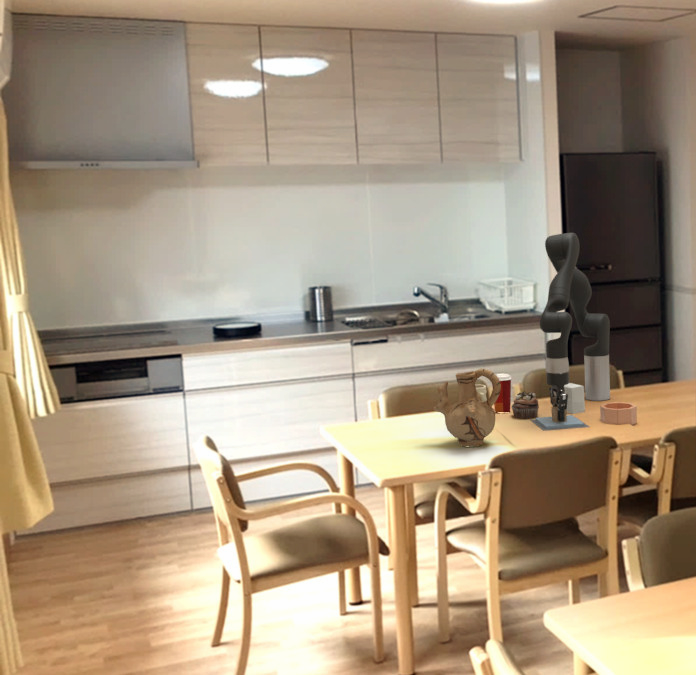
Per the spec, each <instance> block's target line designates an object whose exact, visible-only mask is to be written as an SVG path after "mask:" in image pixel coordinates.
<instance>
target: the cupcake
mask: <svg viewBox="0 0 696 675" xmlns="http://www.w3.org/2000/svg"><path fill="white" fill-rule="evenodd" d="M539 408H540V407H539V399H537V397H536V393H535V392H533V391H532V392H526V391H522V392H519V393H517V394H516V395H515V398H514V400H513V403H512V405H511V410H512V412H513V413H512V414H513V418H515V419H520V420H533V419H535V418H538V412H539Z"/></svg>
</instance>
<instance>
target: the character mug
mask: <svg viewBox="0 0 696 675" xmlns="http://www.w3.org/2000/svg"><path fill="white" fill-rule="evenodd" d="M475 386H476V391H477V392H478V393H479V395H480V397H481V398H482V402H485V401H487V400H488V399H487V386H486V385H485V384H479V383H478V384H475Z"/></svg>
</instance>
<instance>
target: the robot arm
mask: <svg viewBox="0 0 696 675" xmlns="http://www.w3.org/2000/svg"><path fill="white" fill-rule="evenodd" d="M544 246H545V251H546V254H547V257H548V259H549V260H550V263H551V264H552V266H553V268H554V270H555V272H556V274H555V275H554V277H553V279H552V280H551V281H550V284H549V287H548V295H547V301H546V302H547V303H546V304H545V307H544V310H543V312H542V313H541V316H540V318H539V328H540V330H541V331H542V332H543V333H545V334H557V333H558V334H559V333H560V336H559V337H558V338H554V339H549V340H547V342H546V343H545V344H546V345H545V348H546V350H545V351H546V352H545V353H546V361H545V362H546V363H545V374H546V376H545V377H546V384H547V385H548V386H549V388H548V390H549V391H548V392H549V398H550V404H551V405H552V406H551V407H557V411H558V421H564V420H565V414H564V410H566V409H567V401H568V394H566V391H565V389H564V385H567V384H569V383H570V364H569V363H570V362H569V358H568V356H569V354H568V346H569V345H568V341H569V336H570V332H571V330H572V324H573V318H572V315H571V314H570V313H569V312H567V311H564V310H566V309H567V308H568V307H569V303H570V306H571V309H572V311H573V314H574V318H575V320H576V324H577V327H578V328H577V329H578V331H579V333H580V334H581V336H582V337H585V338H594V339H595V338H597V340H596V342H595V343H594V344H592V345H588V346H586V347H584V349H583V356H584V357H583V358H584V360H583V362H584V399H585V400H587V401H594V402H595V401H606V400H610V399H611V390H610V389H611V387H610V386H611V384H610V383H611V382H610V378H611V376H610V336H611V335H610V333H611V332H610V331H611V330H610V329H611V326H610V325H611V322H610V318H609V316H608V314H606V313H589V312H588V311H587V306H588V304H589V303H590V300H591V297H592V293H593V292H592V286H591V283H590V282H589V279H588V277H587V276H586V274H585V273H584V272H582V271H581V270H580V269H579V268H577V267H576V266H577V263H578V258H579V255H580V249H581V248H580V240H579V237H578V235H577V234H576V233H575V232H566V233H565V232H564V233H558V234H552V235H548V237H547V238H546V239H545V242H544ZM550 386H551V387H550ZM561 405H563V406H561Z"/></svg>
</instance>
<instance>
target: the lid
mask: <svg viewBox="0 0 696 675" xmlns="http://www.w3.org/2000/svg"><path fill="white" fill-rule="evenodd" d="M567 413H568V412H566V410H564V414H565V420H564V421H558V411H557V407H553V406H551V416H543V417H536V418H534V420H535V421H536V422H538V423H539V424H540V425H542V426H543V427H544V428H545V429H556V428H569V427H581V426H584V423H585V422H584V421H582V420H581V419H579V418H578V417H576V416H575V415H573V414H569V415H568V414H567ZM575 417H576V418H575ZM577 418H578V419H579V420H578V419H577ZM580 420H581V421H582V422H581V421H580ZM583 422H584V423H583Z"/></svg>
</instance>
